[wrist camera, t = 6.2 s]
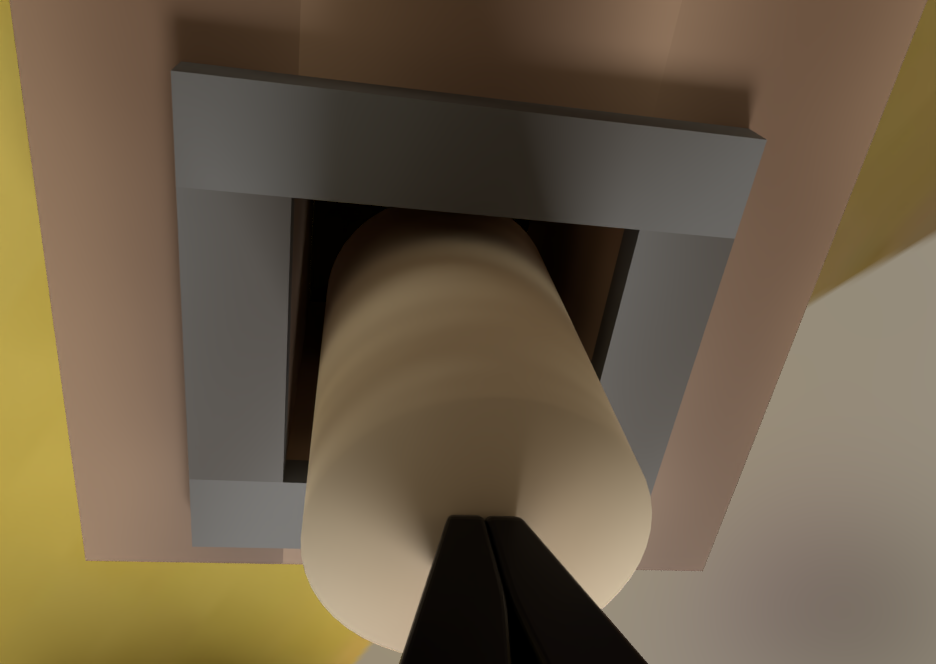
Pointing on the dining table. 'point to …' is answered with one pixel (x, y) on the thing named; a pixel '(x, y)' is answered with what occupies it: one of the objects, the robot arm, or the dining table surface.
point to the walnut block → (437, 189)
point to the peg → (456, 419)
